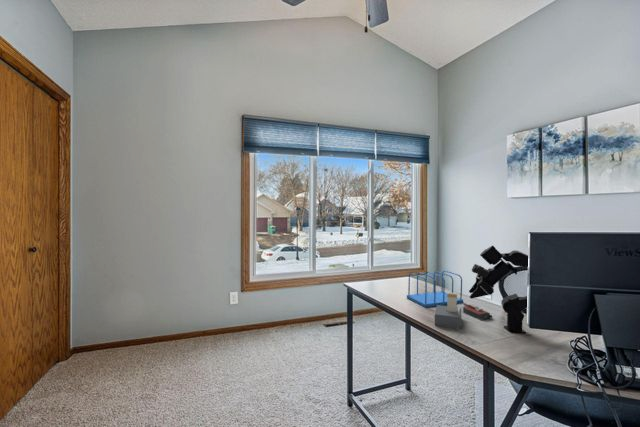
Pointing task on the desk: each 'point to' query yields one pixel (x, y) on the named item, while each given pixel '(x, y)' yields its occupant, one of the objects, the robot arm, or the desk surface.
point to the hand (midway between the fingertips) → (469, 294)
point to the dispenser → (447, 317)
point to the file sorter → (433, 297)
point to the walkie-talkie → (476, 312)
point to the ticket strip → (451, 302)
